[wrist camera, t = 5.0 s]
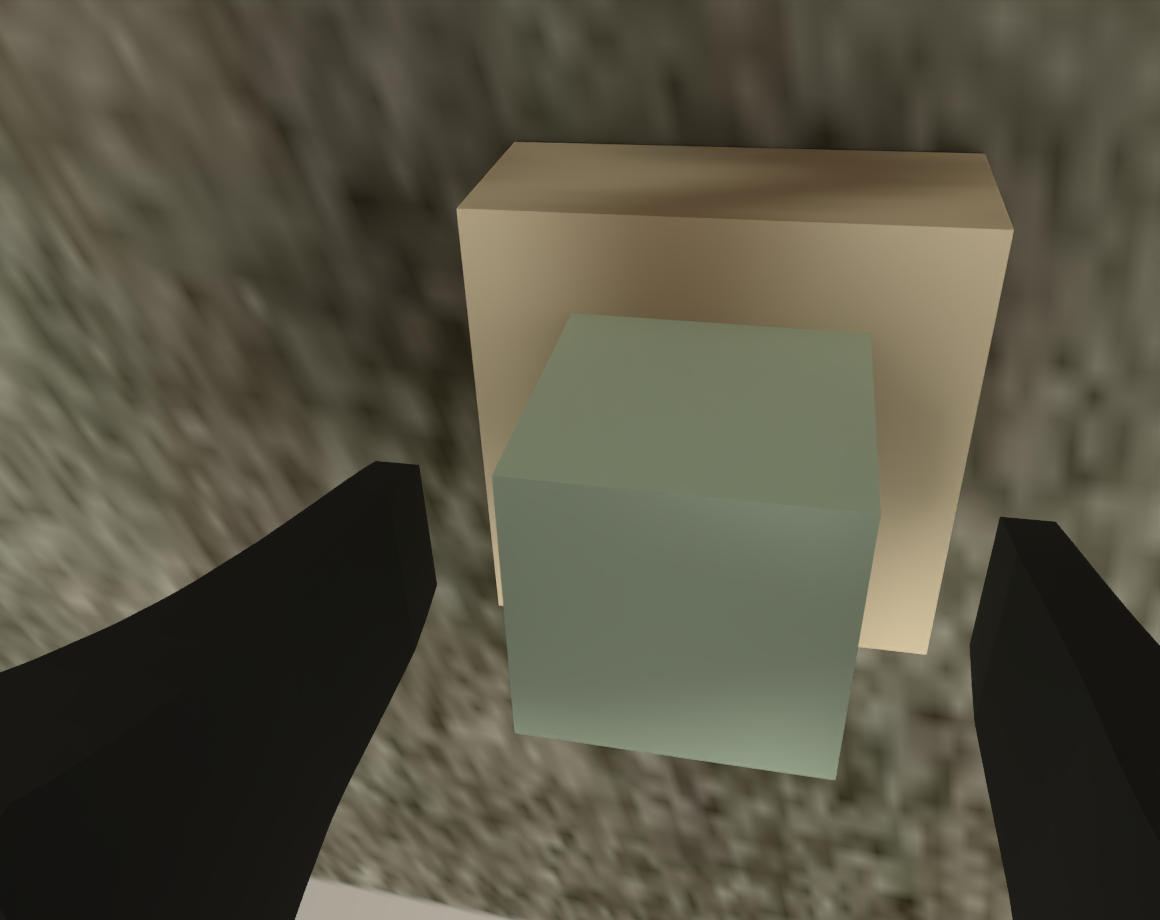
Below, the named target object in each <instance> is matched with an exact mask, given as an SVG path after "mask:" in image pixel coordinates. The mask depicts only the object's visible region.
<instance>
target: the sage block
mask: <svg viewBox="0 0 1160 920" xmlns="http://www.w3.org/2000/svg"><path fill="white" fill-rule="evenodd" d="M492 484H493V495H494V506H495V518H496V529H497V540H498V551H499V562H500V574H501V585H502V596H503V607H504V618H505V630H506V641H507V652H508V663H509V675H510V686H511V697H512V708H513V719H514V731H515V733H518V734H524V735H531V736H538V737H545V738H552V739H558V740H565V741H572V742H579V743H585V744H592V745H599V746H606V747H613V748H619V749H626V750H633V751H640V752H646V753H653V754H660V755H667V756H674V757H680V758H687V759H694V760H701V761H707V762H714V763H721V764H728V765H735V766H741V767H748V768H755V769H762V770H768V771H775V772H782V773H789V774H796V775H802V776H809V777H816V778H823V779H829V780H835V779H836V773H837V767H838V761H839V755H840V750H841V744H842V738H843V732H844V726H845V720H846V715H847V709H848V703H849V697H850V691H851V685H852V680H853V674H854V668H855V662H856V656H857V650H858V645H859V639H860V633H861V627H862V621H863V615H864V610H865V604H866V598H867V592H868V586H869V581H870V575H871V569H872V563H873V557H874V551H875V546H876V540H877V534H878V528H879V522H880V516H881V508H880V490H879V472H878V454H877V437H876V419H875V401H874V383H873V365H872V347H871V334H870V333H856V332H841V331H826V330H812V329H797V328H783V327H768V326H753V325H739V324H724V323H709V322H695V321H680V320H666V319H651V318H636V317H622V316H607V315H593V314H578V313H571V315H570V317H569V319H568V322H567V324H566V326H565V328H564V330H563V332H562V334H561V336H560V338H559V340H558V342H557V344H556V346H555V348H554V350H553V352H552V354H551V356H550V358H549V360H548V362H547V364H546V366H545V368H544V370H543V372H542V374H541V376H540V378H539V381H538V383H537V385H536V387H535V389H534V391H533V393H532V395H531V397H530V399H529V401H528V403H527V405H526V407H525V409H524V411H523V413H522V415H521V417H520V419H519V421H518V423H517V425H516V427H515V429H514V431H513V433H512V435H511V437H510V439H509V442H508V444H507V446H506V448H505V450H504V452H503V454H502V456H501V458H500V460H499V462H498V464H497V466H496V468H495V470H494V472H493V474H492Z"/></svg>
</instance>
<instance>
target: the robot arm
mask: <svg viewBox="0 0 1160 920" xmlns="http://www.w3.org/2000/svg"><path fill="white" fill-rule="evenodd" d="M436 587H437V582H436V575H435V569H434V562H433V555H432V549H431V542H430V535H429V529H428V522H427V515H426V508H425V502H424V495H423V488H422V482H421V475H420V468H419V465H413V464H402V463H391V462H380V461H375V462H373V463H372V464H370V465H368V466H367V467H365V468H364V469H362V470H361V471H359V472H358V473H356V474H355V475H353V476H352V477H350V478H349V479H347V480H346V481H344V482H343V483H342V484H340V485H339V486H337V487H336V488H334V489H333V490H332V491H330V492H329V493H327V494H326V495H324V496H323V497H322V498H320V499H319V500H317V501H316V502H315V503H313V504H312V505H310V506H309V507H307V508H306V509H305V510H303V511H302V512H300V513H299V514H297V515H296V516H294V517H293V518H292V519H290V520H289V521H287V522H286V523H284V524H283V525H281V526H280V527H279V528H277V529H276V530H274V531H273V532H271V533H270V534H268V535H267V536H265V537H264V538H263V539H261V540H260V541H258V542H257V543H255V544H253V545H252V546H250V547H249V548H247V549H245V550H244V551H242V552H241V553H239V554H237V555H236V556H234V557H233V558H231V559H229V560H228V561H226V562H225V563H223V564H221V565H220V566H218V567H217V568H215V569H214V570H212V571H210V572H209V573H207V574H206V575H204V576H202V577H201V578H199V579H198V580H196V581H194V582H193V583H191V584H189V585H187V586H186V587H184V588H182V589H180V590H179V591H177V592H175V593H173V594H171V595H170V596H168V597H166V598H164V599H162V600H161V601H159V602H157V603H155V604H153V605H151V606H149V607H147V608H145V609H143V610H141V611H139V612H137V613H135V614H133V615H132V616H130V617H128V618H126V619H124V620H122V621H120V622H118V623H116V624H114V625H111V626H109V627H107V628H105V629H103V630H101V631H98V632H96V633H94V634H91V635H89V636H87V637H85V638H82V639H80V640H78V641H75V642H73V643H71V644H69V645H66V646H64V647H62V648H59V649H57V650H55V651H53V652H50V653H48V654H46V655H43V656H41V657H39V658H37V659H34V660H32V661H29V662H27V663H24V664H21V665H19V666H16V667H13V668H11V669H8V670H6V671H3V672H0V920H295V917H296V914H297V912H298V908H299V906H300V903H301V900H302V897H303V894H304V891H305V889H306V886H307V883H308V881H309V878H310V875H311V873H312V870H313V868H314V865H315V862H316V860H317V857H318V854H319V852H320V849H321V846H322V844H323V841H324V838H325V836H326V833H327V831H328V828H329V825H330V823H331V820H332V818H333V816H334V813H335V811H336V809H337V807H338V804H339V802H340V800H341V798H342V796H343V793H344V791H345V789H346V787H347V785H348V783H349V781H350V779H351V777H352V775H353V773H354V771H355V769H356V767H357V765H358V763H359V761H360V759H361V757H362V755H363V753H364V751H365V750H366V748H367V746H368V744H369V742H370V740H371V738H372V736H373V734H374V732H375V730H376V728H377V726H378V724H379V722H380V720H381V718H382V716H383V714H384V712H385V710H386V708H387V706H388V704H389V702H390V700H391V698H392V696H393V694H394V692H395V690H396V688H397V686H398V684H399V682H400V680H401V678H402V676H403V674H404V672H405V670H406V668H407V666H408V664H409V662H410V660H411V658H412V656H413V653H414V651H415V649H416V646H417V643H418V641H419V638H420V635H421V632H422V629H423V626H424V624H425V621H426V618H427V615H428V612H429V608H430V605H431V602H432V599H433V596H434V593H435V590H436ZM970 659H971V678H972V694H973V707H974V721H975V726H976V732H977V737H978V742H979V747H980V752H981V757H982V763H983V768H984V773H985V778H986V783H987V788H988V793H989V798H990V803H991V808H992V813H993V817H994V822H995V827H996V832H997V837H998V842H999V847H1000V852H1001V857H1002V862H1003V867H1004V872H1005V877H1006V882H1007V887H1008V892H1009V898H1010V905H1011V911H1012V917H1013V920H1160V645H1159V644H1158V643H1157V642H1156V641H1155V640H1154V639H1153V638H1152V636H1151V635H1150V634H1149V633H1148V632H1147V631H1146V630H1145V629H1144V627H1143V626H1142V625H1141V624H1140V623H1139V622H1138V621H1137V620H1136V618H1135V617H1134V616H1133V615H1132V614H1131V613H1130V611H1129V610H1128V609H1127V608H1126V607H1125V606H1124V604H1123V603H1122V602H1121V601H1120V600H1119V598H1118V597H1117V596H1116V595H1115V594H1114V592H1113V591H1112V590H1111V589H1110V588H1109V586H1108V585H1107V584H1106V583H1105V582H1104V580H1103V579H1102V578H1101V577H1100V575H1099V574H1098V573H1097V572H1096V571H1095V569H1094V568H1093V567H1092V566H1091V564H1090V563H1089V562H1088V561H1087V559H1086V558H1085V557H1084V556H1083V554H1082V553H1081V552H1080V551H1079V550H1078V548H1077V547H1076V546H1075V545H1074V543H1073V542H1072V541H1071V540H1070V538H1069V537H1068V536H1067V535H1066V534H1065V532H1064V531H1063V530H1062V529H1061V528H1060V526H1059V525H1058V524H1057V523H1056V522H1052V521H1041V520H1030V519H1018V518H1007V517H1000V519H999V524H998V528H997V532H996V536H995V541H994V545H993V549H992V553H991V557H990V562H989V566H988V570H987V574H986V579H985V583H984V587H983V591H982V595H981V600H980V604H979V608H978V612H977V617H976V621H975V625H974V629H973V633H972V638H971V642H970Z"/></svg>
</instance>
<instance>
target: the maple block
mask: <svg viewBox="0 0 1160 920" xmlns="http://www.w3.org/2000/svg"><path fill="white" fill-rule="evenodd" d="M456 210H457V219H458V228H459V238H460V247H461V256H462V266H463V275H464V284H465V294H466V303H467V312H468V322H469V331H470V340H471V350H472V359H473V368H474V378H475V387H476V396H477V406H478V415H479V424H480V434H481V443H482V453H483V462H484V471H485V481H486V490H487V499H488V509H489V518H490V527H491V537H492V546H493V555H494V565H495V574H496V583H497V593H498V602H499V606H503V596H502V585H501V574H500V562H499V551H498V540H497V529H496V518H495V506H494V495H493V484H492V474H493V472H494V470H495V468H496V466H497V464H498V462H499V460H500V458H501V456H502V454H503V452H504V450H505V448H506V446H507V444H508V442H509V439H510V437H511V435H512V433H513V431H514V429H515V427H516V425H517V423H518V421H519V419H520V417H521V415H522V413H523V411H524V409H525V407H526V405H527V403H528V401H529V399H530V397H531V395H532V393H533V391H534V389H535V387H536V385H537V383H538V381H539V378H540V376H541V374H542V372H543V370H544V368H545V366H546V364H547V362H548V360H549V358H550V356H551V354H552V352H553V350H554V348H555V346H556V344H557V342H558V340H559V338H560V336H561V334H562V332H563V330H564V328H565V326H566V324H567V322H568V319H569V317H570V315H571V313H578V314H593V315H607V316H622V317H636V318H651V319H666V320H680V321H695V322H709V323H724V324H739V325H753V326H768V327H783V328H797V329H812V330H826V331H841V332H856V333H870V334H871V347H872V365H873V383H874V401H875V419H876V437H877V454H878V472H879V490H880V508H881V516H880V522H879V528H878V534H877V540H876V546H875V551H874V557H873V563H872V569H871V575H870V581H869V586H868V592H867V598H866V604H865V610H864V615H863V621H862V627H861V633H860V639H859V645H858V647H864V648H873V649H881V650H890V651H899V652H907V653H916V654H925V655H926V654H927V649H928V644H929V639H930V635H931V630H932V625H933V620H934V615H935V610H936V606H937V601H938V596H939V591H940V586H941V581H942V576H943V572H944V567H945V562H946V557H947V552H948V547H949V543H950V538H951V533H952V528H953V523H954V518H955V513H956V509H957V504H958V499H959V494H960V489H961V484H962V480H963V475H964V470H965V465H966V460H967V455H968V450H969V446H970V441H971V436H972V431H973V426H974V421H975V417H976V412H977V407H978V402H979V397H980V392H981V387H982V383H983V378H984V373H985V368H986V363H987V358H988V354H989V349H990V344H991V339H992V334H993V329H994V324H995V320H996V315H997V310H998V305H999V300H1000V295H1001V291H1002V286H1003V281H1004V276H1005V271H1006V266H1007V262H1008V257H1009V252H1010V247H1011V242H1012V237H1013V232H1014V229H1013V226H1012V223H1011V221H1010V218H1009V215H1008V213H1007V210H1006V207H1005V205H1004V202H1003V200H1002V197H1001V194H1000V192H999V189H998V186H997V184H996V181H995V178H994V176H993V173H992V170H991V168H990V165H989V163H988V160H987V157H986V155H985V154H982V153H942V152H902V151H862V150H822V149H782V148H742V147H702V146H662V145H622V144H582V143H542V142H514V143H513V144H512V145H511V146H510V147H509V149H508V150H507V151H506V152H505V153H504V154H503V156H502V157H501V158H500V159H499V160H498V161H497V162H496V164H495V165H494V166H493V167H492V168H491V169H490V170H489V172H488V173H487V174H486V175H485V176H484V177H483V179H482V180H481V181H480V182H479V183H478V184H477V185H476V187H475V188H474V189H473V190H472V191H471V192H470V193H469V195H468V196H467V197H466V198H465V199H464V200H463V201H462V203H461V204H460V205H459V206H458V207H457V208H456Z"/></svg>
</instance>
